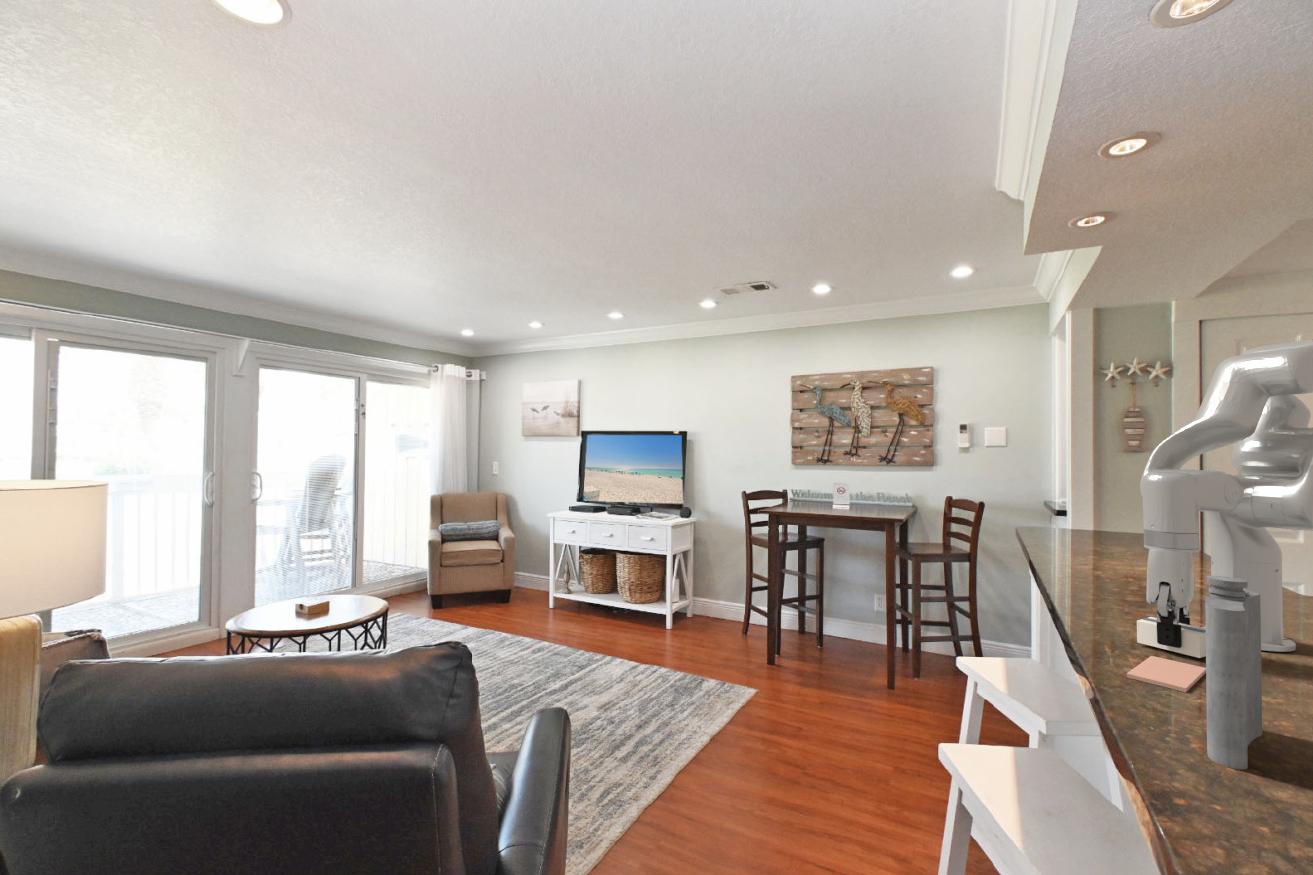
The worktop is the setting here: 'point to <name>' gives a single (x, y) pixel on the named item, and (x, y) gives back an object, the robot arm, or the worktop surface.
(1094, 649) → the worktop surface
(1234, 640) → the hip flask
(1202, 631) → the card box
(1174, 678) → the mat
